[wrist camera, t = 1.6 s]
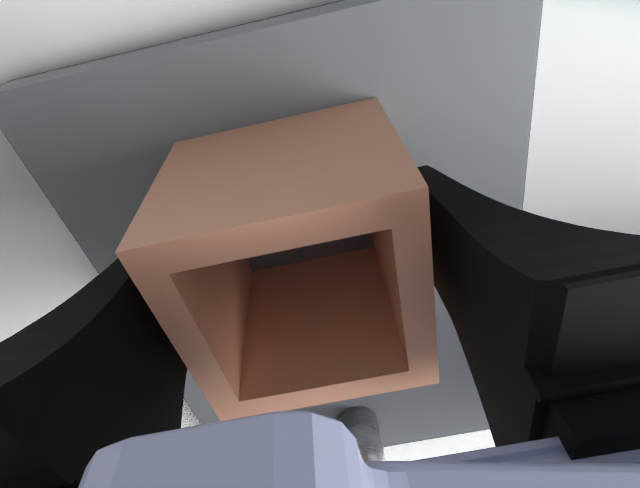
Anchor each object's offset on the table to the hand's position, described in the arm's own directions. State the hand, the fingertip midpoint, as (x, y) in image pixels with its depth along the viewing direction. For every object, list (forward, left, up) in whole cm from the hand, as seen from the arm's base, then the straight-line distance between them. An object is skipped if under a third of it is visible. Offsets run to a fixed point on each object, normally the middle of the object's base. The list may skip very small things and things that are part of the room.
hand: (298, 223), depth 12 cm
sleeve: (0, 0, -1) cm, 1 cm away
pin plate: (0, +5, -2) cm, 6 cm away
